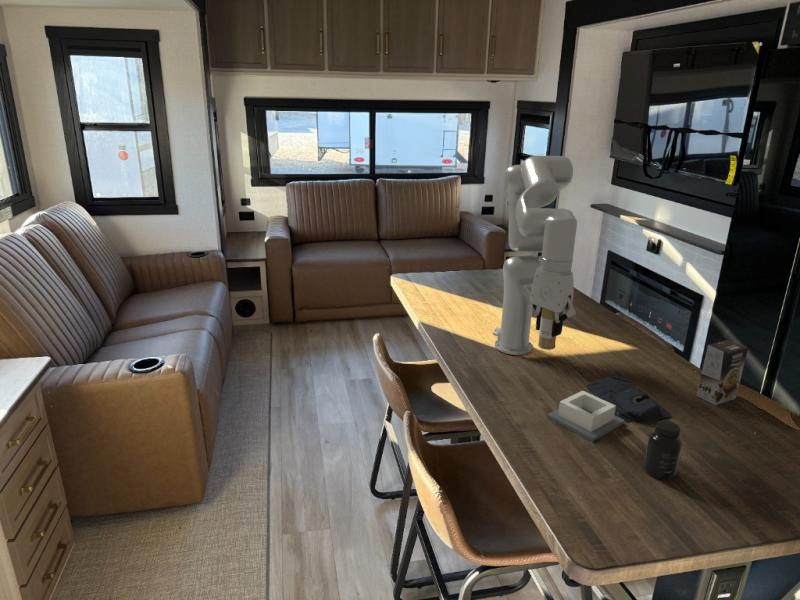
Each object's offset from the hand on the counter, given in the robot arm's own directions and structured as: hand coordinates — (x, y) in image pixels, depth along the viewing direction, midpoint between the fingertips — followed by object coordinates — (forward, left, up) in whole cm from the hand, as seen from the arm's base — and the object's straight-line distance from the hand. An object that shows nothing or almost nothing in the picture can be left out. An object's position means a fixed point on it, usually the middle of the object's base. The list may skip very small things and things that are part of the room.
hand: (548, 331), depth 148 cm
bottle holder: (+12, +4, -22) cm, 25 cm away
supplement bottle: (+35, -1, -22) cm, 41 cm away
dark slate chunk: (+13, +22, -23) cm, 34 cm away
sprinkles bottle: (0, 0, -5) cm, 5 cm away
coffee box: (+27, +45, -22) cm, 57 cm away
